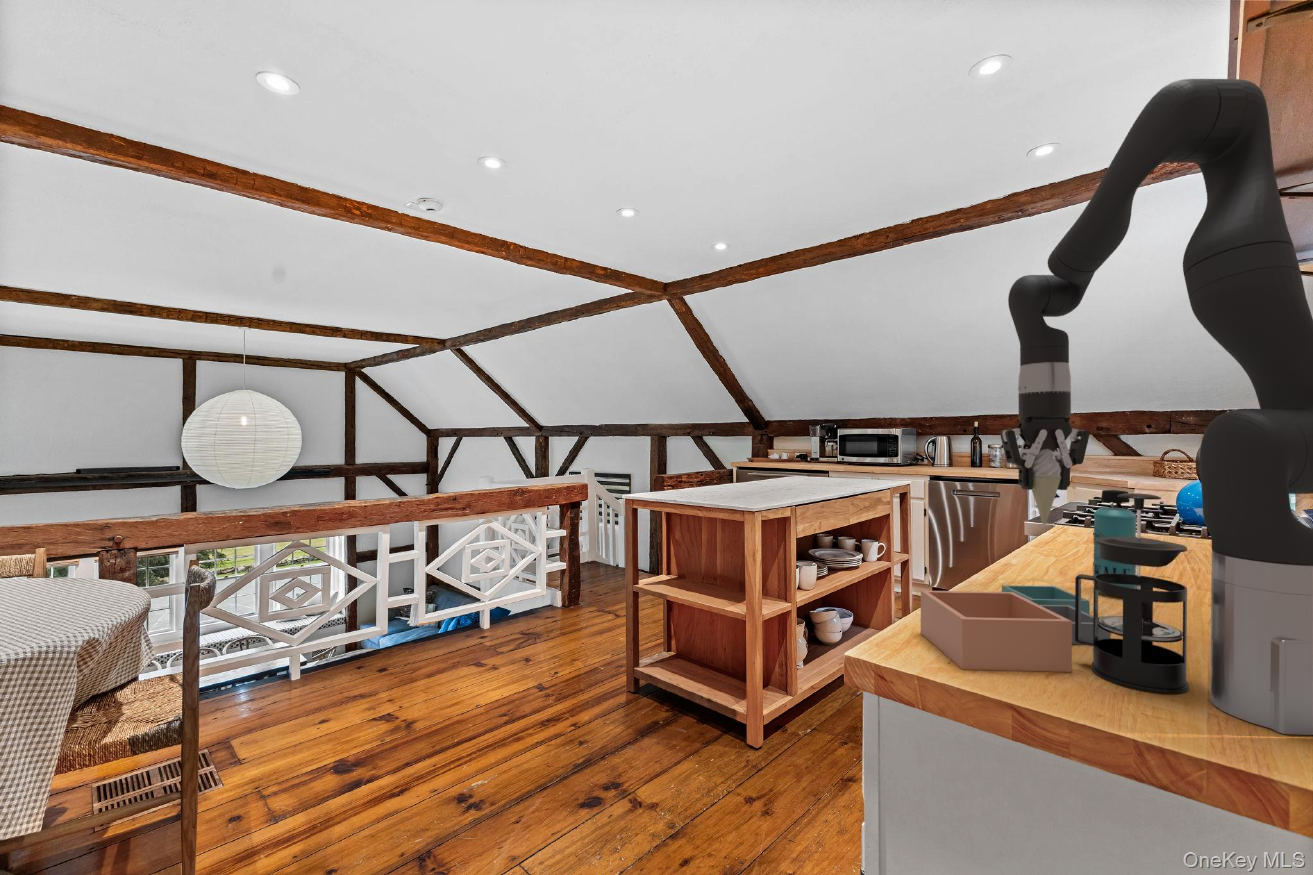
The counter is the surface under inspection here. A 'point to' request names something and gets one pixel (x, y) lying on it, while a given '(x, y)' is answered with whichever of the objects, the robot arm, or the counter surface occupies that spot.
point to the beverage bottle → (1113, 533)
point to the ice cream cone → (1045, 482)
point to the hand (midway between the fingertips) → (1044, 489)
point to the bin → (996, 631)
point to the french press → (1137, 615)
